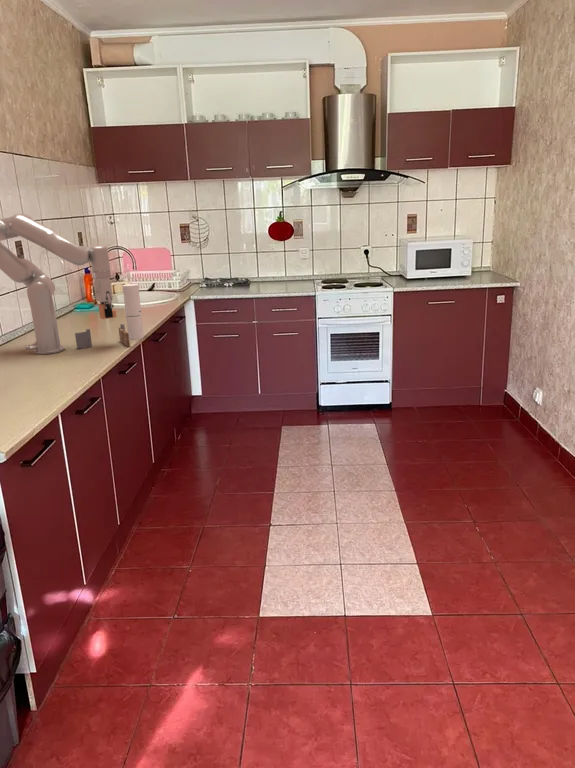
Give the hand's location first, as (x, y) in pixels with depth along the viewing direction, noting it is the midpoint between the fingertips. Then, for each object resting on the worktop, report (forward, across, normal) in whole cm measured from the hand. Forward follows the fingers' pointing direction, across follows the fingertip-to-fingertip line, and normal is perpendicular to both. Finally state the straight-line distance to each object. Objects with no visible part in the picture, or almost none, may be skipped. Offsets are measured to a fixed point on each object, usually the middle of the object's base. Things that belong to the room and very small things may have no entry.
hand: (107, 316), depth 260 cm
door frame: (+14, -6, -2) cm, 15 cm away
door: (+13, 0, +6) cm, 15 cm away
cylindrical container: (+14, -10, +15) cm, 23 cm away
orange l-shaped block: (+1, 0, 0) cm, 1 cm away
